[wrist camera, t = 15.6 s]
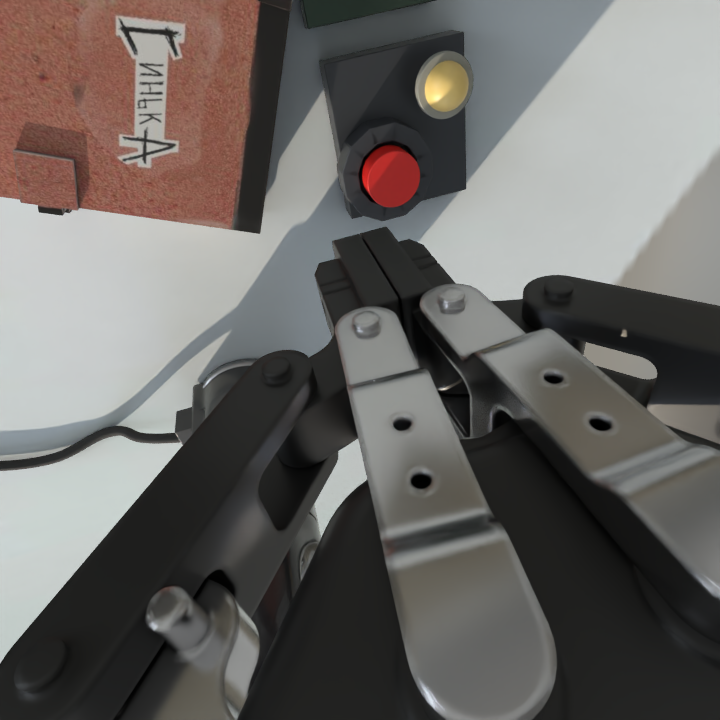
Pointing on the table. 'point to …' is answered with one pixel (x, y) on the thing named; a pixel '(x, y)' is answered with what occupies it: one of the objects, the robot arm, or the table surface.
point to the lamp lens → (444, 84)
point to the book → (141, 106)
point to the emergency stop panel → (392, 121)
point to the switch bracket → (347, 9)
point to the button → (390, 176)
